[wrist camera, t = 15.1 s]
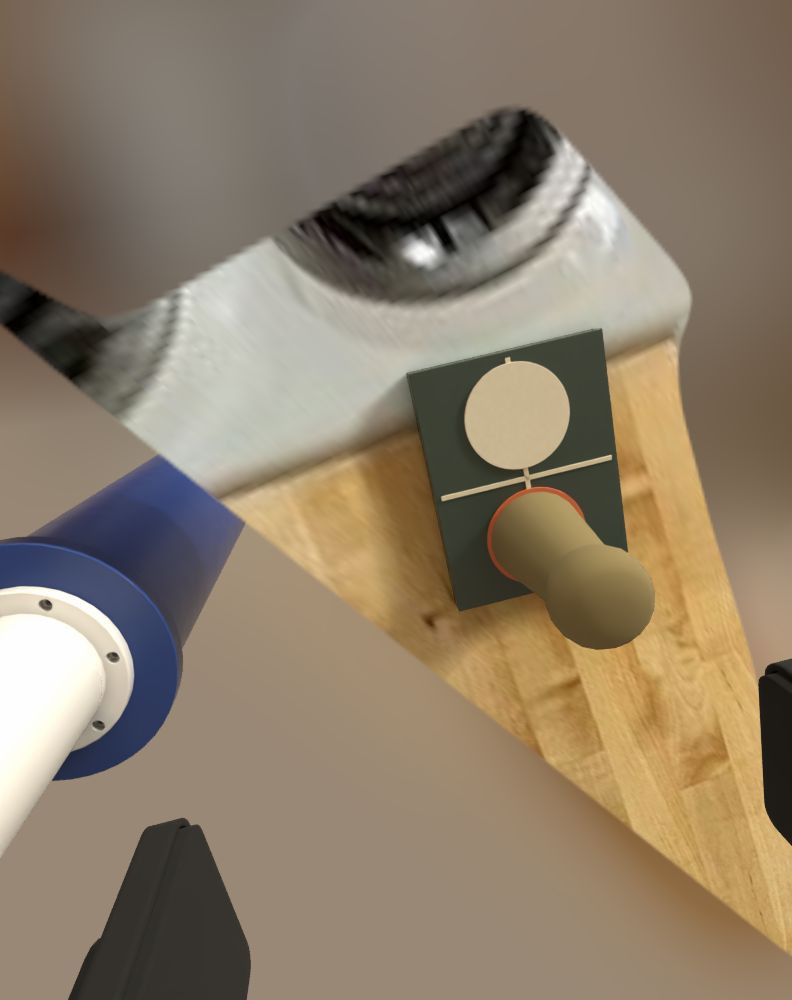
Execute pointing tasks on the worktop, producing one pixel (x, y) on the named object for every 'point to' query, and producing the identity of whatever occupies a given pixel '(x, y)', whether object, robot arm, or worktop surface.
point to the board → (516, 449)
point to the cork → (573, 571)
